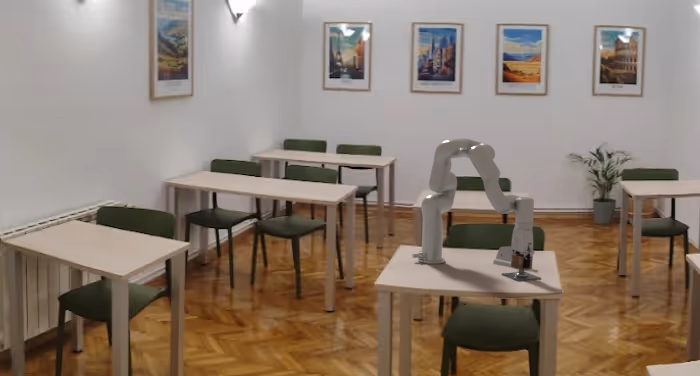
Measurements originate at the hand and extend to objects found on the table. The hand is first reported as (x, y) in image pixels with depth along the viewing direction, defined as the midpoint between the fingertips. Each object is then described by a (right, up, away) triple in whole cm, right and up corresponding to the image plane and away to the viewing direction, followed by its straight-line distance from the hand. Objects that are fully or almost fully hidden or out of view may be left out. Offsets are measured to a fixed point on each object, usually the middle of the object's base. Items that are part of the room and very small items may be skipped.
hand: (521, 265), depth 347 cm
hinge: (0, -2, +22) cm, 22 cm away
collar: (0, -1, 0) cm, 1 cm away
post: (0, -5, +1) cm, 5 cm away
